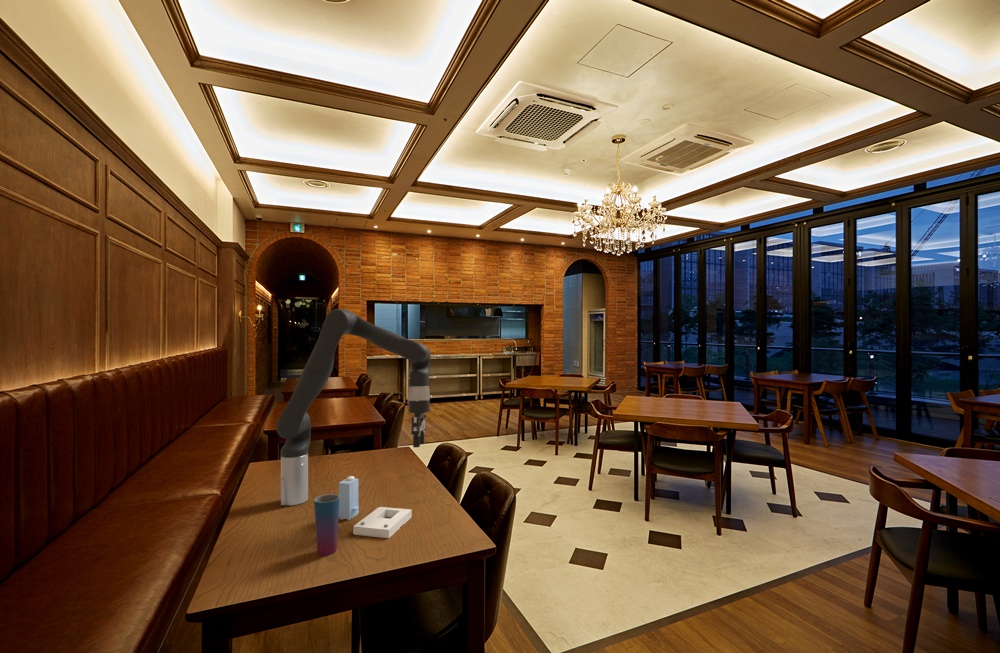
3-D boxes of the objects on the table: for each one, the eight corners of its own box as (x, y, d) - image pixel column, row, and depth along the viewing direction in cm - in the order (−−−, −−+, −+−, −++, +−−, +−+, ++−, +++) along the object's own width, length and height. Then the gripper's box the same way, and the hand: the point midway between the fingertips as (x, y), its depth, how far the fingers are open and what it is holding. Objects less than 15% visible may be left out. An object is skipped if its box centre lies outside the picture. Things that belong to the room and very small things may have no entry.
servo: (353, 520, 148) (352, 481, 148) (335, 518, 150) (335, 480, 150) (361, 514, 153) (361, 476, 154) (344, 512, 155) (344, 475, 155)
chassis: (388, 538, 135) (388, 528, 135) (353, 534, 137) (353, 524, 138) (411, 517, 150) (411, 508, 150) (379, 514, 153) (379, 505, 153)
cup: (324, 559, 122) (324, 504, 123) (308, 553, 126) (308, 499, 126) (344, 549, 128) (344, 496, 128) (329, 543, 132) (329, 492, 132)
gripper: (412, 399, 168) (412, 443, 165) (404, 400, 153) (403, 448, 151) (432, 398, 167) (432, 443, 165) (426, 399, 153) (425, 448, 151)
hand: (418, 445), depth 158 cm, fingers open, 8 cm apart
